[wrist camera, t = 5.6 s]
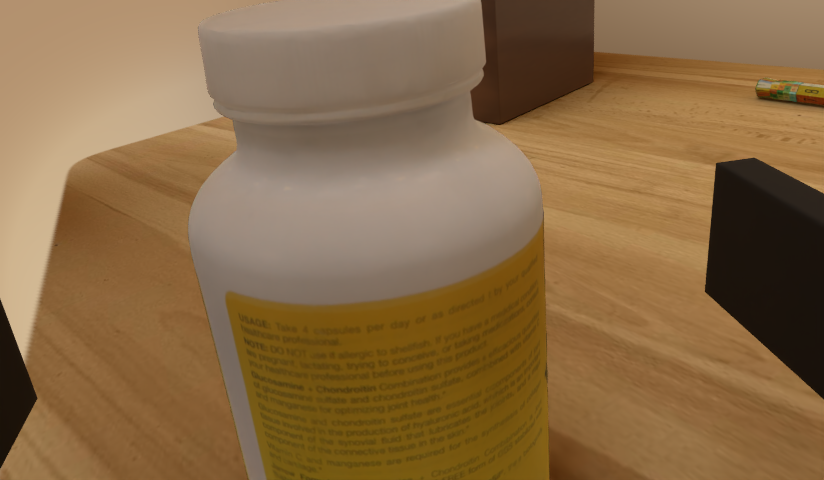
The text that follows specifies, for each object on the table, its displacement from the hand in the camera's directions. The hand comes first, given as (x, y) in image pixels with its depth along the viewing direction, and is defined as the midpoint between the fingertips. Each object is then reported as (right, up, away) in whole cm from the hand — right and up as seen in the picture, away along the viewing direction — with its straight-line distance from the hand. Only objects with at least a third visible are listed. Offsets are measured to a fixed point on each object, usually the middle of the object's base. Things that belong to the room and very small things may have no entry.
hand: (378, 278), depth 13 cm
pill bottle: (0, -6, +4) cm, 7 cm away
